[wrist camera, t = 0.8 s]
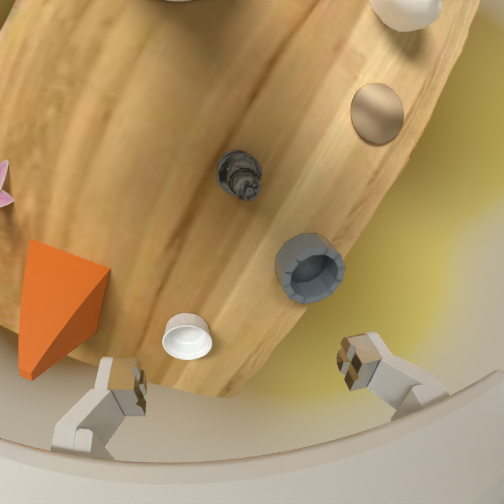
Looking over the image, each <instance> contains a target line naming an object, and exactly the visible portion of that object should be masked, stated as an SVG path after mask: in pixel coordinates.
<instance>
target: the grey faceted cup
mask: <svg viewBox="0 0 504 504" xmlns="http://www.w3.org/2000/svg"><path fill="white" fill-rule="evenodd" d="M344 271H345V265H344V262H343V260H342V257H341V255H340V253H339V252H338V251H337V250H336V249H335V248H334V246H333V245H332V244H331V243H330V242H329V241H328V240H327V239H325V238H324V237H322V236H320V235H318V234H317V233H310V234H299V235H298V236H296V237H294V238H292V239H290V240H289V241H287V242H285V244H284V245H283V247H282V248H281V249H280V251H279V252H278V254H277V255H276V262H275V272H276V274H277V276H278V278H279V281H280V283H281V285H282V287H283V289H284V290H285V292H286V294H287V295H288V297H289V299H292V300H294V301H297V302H299V303H302V304H305V303H313V302H319V301H320V300H322V299H324V298H326V297H328V296H329V295H331V294H332V293H333V292H334V291H335V290H336V288H337V287H338V286H339V285H340V283H341V282H342V280H343V275H344Z"/></svg>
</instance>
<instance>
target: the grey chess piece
mask: <svg viewBox="0 0 504 504" xmlns="http://www.w3.org/2000/svg"><path fill="white" fill-rule="evenodd" d="M261 175H262V172H261V167H260V164H259V162H258V161H257V160H256V159H255V158H254V157H253V156H251V155H249V154H247V153H245V152H243V151H239V150H234V151H230V152H228V153H226V154H225V155H223V156H222V157H221V159H220V160H219V163H218V167H217V179H218V182H219V185H220V186H221V188H222V189H223V190H224V191H226V192H227V193H229V194H232V195H237V196H238V198H240V199H241V200H244V201H252V200H254V199H255V198H257V196H258V195H259V193H260V190H261V186H260V183H259V182H260V180H261Z"/></svg>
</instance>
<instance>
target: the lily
mask: <svg viewBox="0 0 504 504" xmlns="http://www.w3.org/2000/svg"><path fill="white" fill-rule="evenodd" d="M8 164H9V163H8V160H5V161H2V162H1V163H0V207H3V206H6V205H8V204H10V203H12V202H13V201H14V198H13V197H12V196H11V195H9V194H8V193H7V192H5V191H4V190H2V189H1V188H2V185H3V183H4V180H5V177H6V173H7V169H8Z"/></svg>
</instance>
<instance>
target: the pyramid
mask: <svg viewBox="0 0 504 504" xmlns="http://www.w3.org/2000/svg"><path fill="white" fill-rule="evenodd" d="M110 269H111V268H108V267H105V266H102V265H99V264H97V263H94V262H91V261H88V260H85V259H83V258H80V257H77V256H75V255H72V254H69V253H66V252H64V251H61V250H59V249H56V248H53V247H51V246H48V245H46V244H43V243H41V242H38V241H36V240H33V239H30V244H29V249H28V255H27V261H26V267H25V274H24V281H23V289H22V298H21V309H20V324H19V372H20V376H22V377H24V378H26V379H29V380H31V381H33V380H34V379H35V378H36V377H38V376H39V375H41V374H42V373H43V372H45V371H46V370H47V369H48V368H50V367H51V366H52V365H54V364H55V363H56V362H58V361H59V360H60V359H62V358H63V357H64V356H66V355H67V354H68V353H70V352H71V351H72V350H74V349H75V348H76V347H78V346H79V345H80V344H82V343H83V342H84V341H86V340H87V339H88V338H90V337H91V336H92V335H94V334H95V333H96V332H97V328H98V323H99V318H100V313H101V308H102V303H103V299H104V294H105V290H106V285H107V281H108V277H109V273H110Z"/></svg>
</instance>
